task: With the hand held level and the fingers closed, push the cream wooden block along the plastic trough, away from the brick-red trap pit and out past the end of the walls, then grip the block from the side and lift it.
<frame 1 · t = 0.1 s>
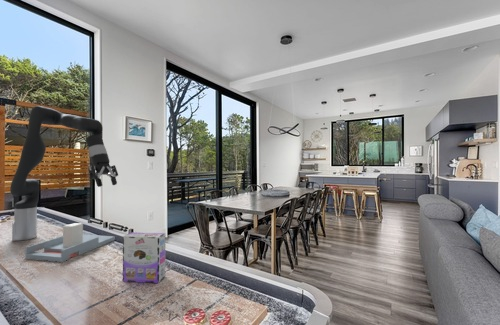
hand: (107, 185, 117), 31 cm above the table, tool tilted 20°, fingers open, 8 cm apart
candy box: (144, 279, 86), on the table
trough: (74, 248, 117), on the table
cream block: (73, 244, 116), point 2 cm above the table, touching trough
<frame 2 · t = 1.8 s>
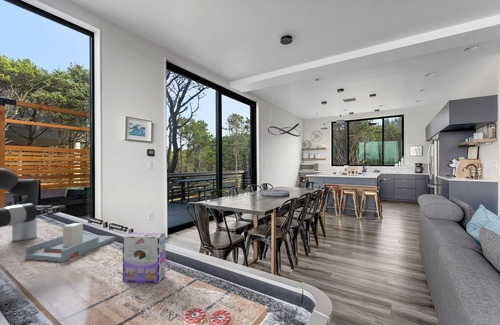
hand: (59, 207, 109), 22 cm above the table, tool horizontal, fingers open, 5 cm apart
nothing on the table moved.
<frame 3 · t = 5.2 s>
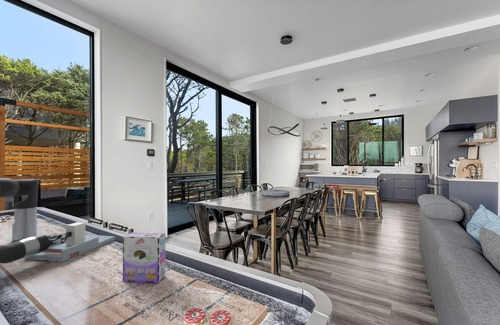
hand: (70, 233, 114), 8 cm above the table, tool horizontal, fingers closed
cream block: (75, 243, 117), point 2 cm above the table, touching gripper
everything else where it was.
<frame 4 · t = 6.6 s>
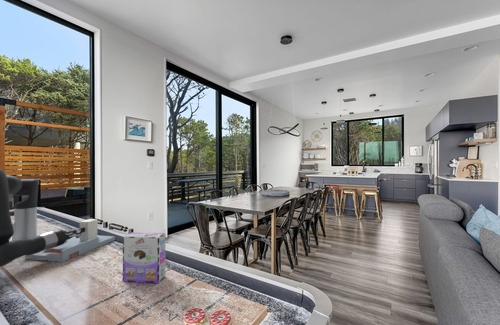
hand: (83, 229, 122), 8 cm above the table, tool horizontal, fingers closed
cream block: (88, 239, 125), point 2 cm above the table, touching gripper, trough
everything else where it was.
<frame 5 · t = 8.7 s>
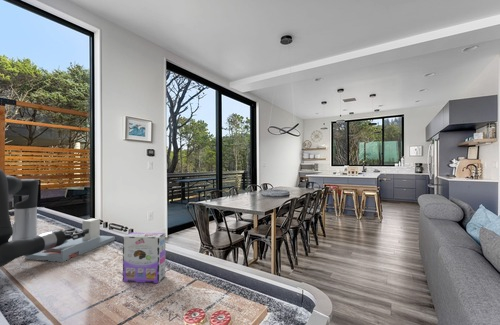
hand: (81, 230, 120), 8 cm above the table, tool horizontal, fingers open, 8 cm apart
cream block: (91, 238, 126), point 2 cm above the table, touching trough
everything else where it was.
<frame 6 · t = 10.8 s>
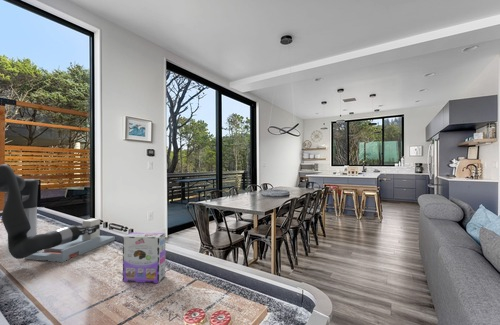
hand: (94, 226, 128), 8 cm above the table, tool horizontal, fingers closed on cream block, 5 cm apart
cream block: (91, 238, 126), point 2 cm above the table, touching gripper, trough
everything else where it was.
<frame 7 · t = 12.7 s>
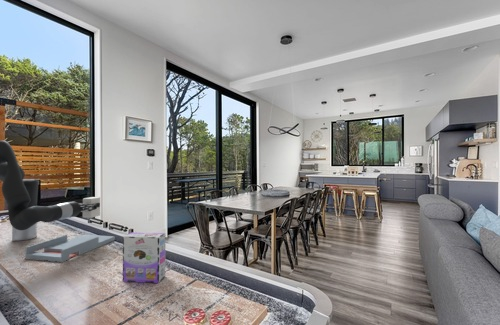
hand: (94, 204, 129), 20 cm above the table, tool horizontal, fingers closed on cream block, 5 cm apart
cream block: (91, 216, 126), point 14 cm above the table, touching gripper
everything else where it was.
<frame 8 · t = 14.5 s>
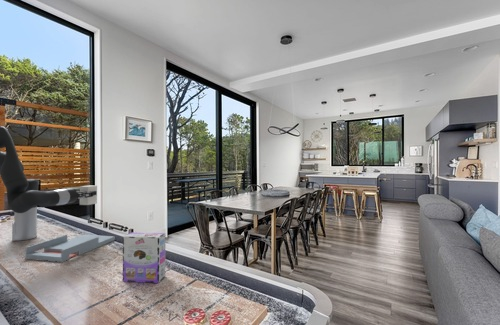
hand: (91, 192, 132), 26 cm above the table, tool horizontal, fingers closed on cream block, 5 cm apart
cream block: (88, 204, 130), point 20 cm above the table, touching gripper
everything else where it was.
at the end: the gripper is holding cream block; cream block point 19.9 cm above the table; cream block moved 22.6 cm from its start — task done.
